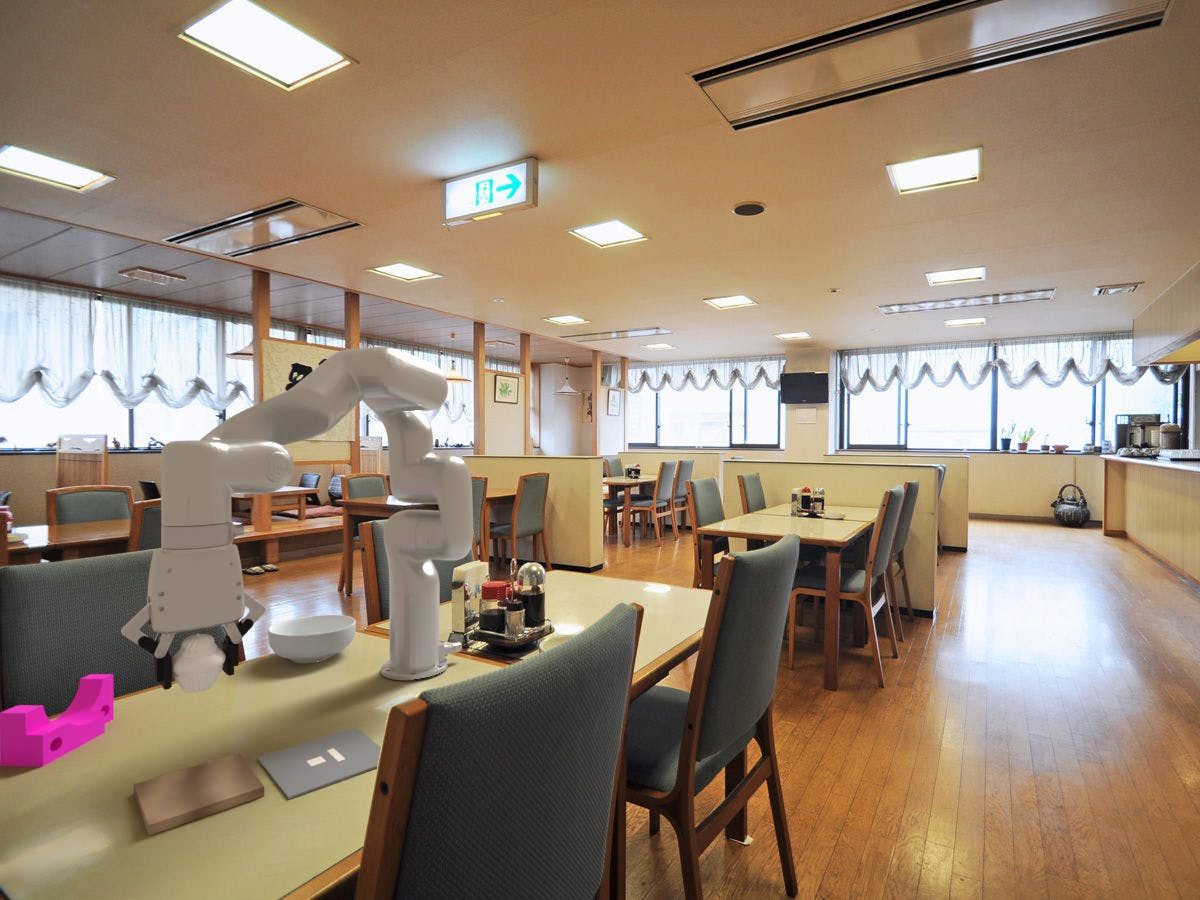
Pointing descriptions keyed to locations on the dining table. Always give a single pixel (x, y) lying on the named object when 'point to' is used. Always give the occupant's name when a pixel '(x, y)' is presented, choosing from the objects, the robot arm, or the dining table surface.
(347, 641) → the cereal bowl
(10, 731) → the magenta cradle bracket
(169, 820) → the walnut pad
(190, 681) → the muffin
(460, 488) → the robot arm
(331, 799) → the dining table surface
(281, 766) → the tile
